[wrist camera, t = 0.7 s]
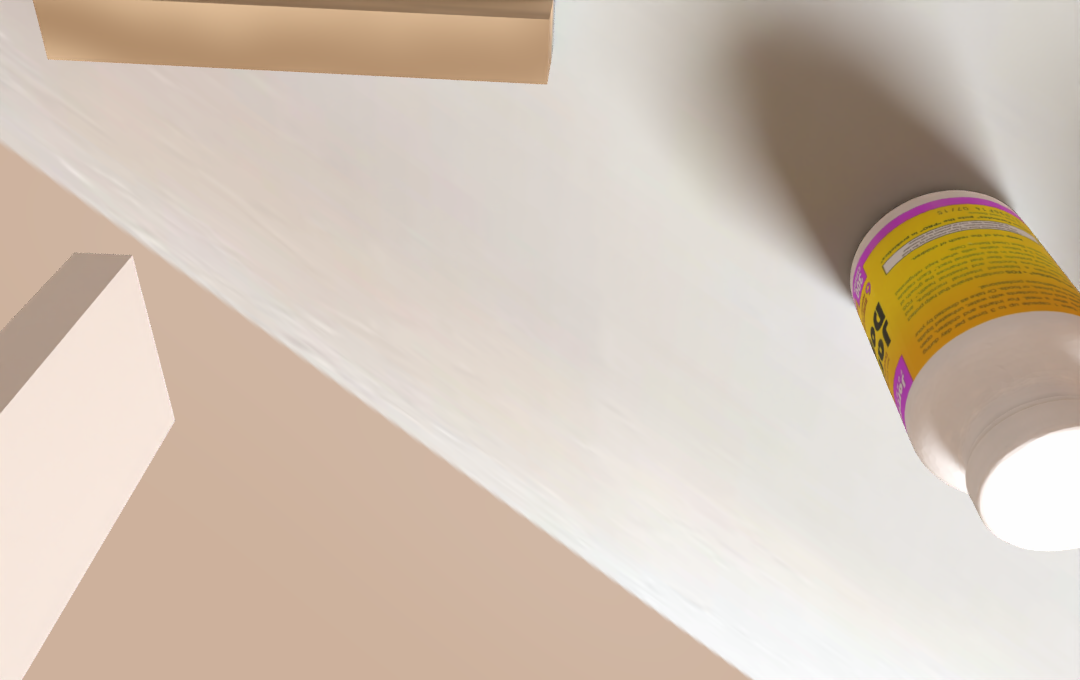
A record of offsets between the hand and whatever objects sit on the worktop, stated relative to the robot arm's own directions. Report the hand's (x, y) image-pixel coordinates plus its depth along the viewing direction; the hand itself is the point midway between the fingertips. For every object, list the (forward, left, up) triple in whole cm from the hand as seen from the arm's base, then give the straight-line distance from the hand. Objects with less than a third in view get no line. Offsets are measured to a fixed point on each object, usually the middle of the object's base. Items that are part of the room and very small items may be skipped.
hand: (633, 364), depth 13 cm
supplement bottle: (+10, +13, -23) cm, 28 cm away
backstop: (+2, -10, -22) cm, 24 cm away
